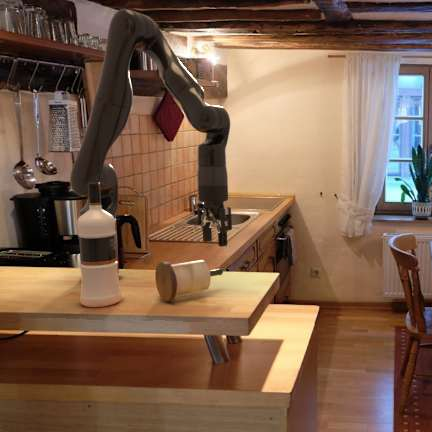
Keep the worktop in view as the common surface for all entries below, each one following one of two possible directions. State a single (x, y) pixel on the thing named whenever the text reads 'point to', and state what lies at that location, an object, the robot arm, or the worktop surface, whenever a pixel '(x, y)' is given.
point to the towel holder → (183, 278)
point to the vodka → (98, 254)
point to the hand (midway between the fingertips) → (215, 243)
